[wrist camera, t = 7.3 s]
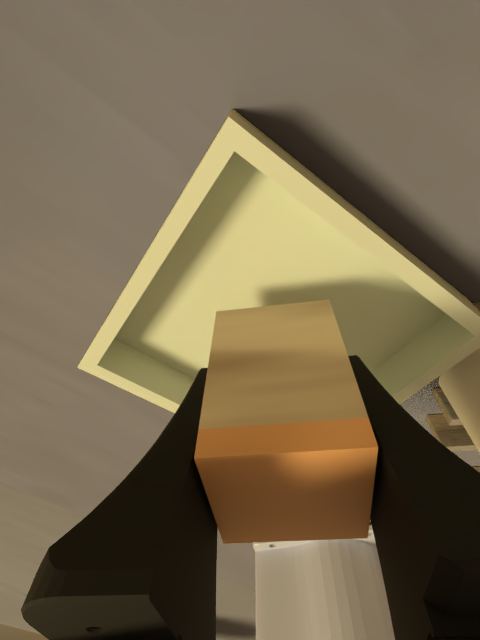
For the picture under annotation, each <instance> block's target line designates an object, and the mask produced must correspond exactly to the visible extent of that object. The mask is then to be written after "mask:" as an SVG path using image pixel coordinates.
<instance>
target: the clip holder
mask: <svg viewBox="0 0 480 640" xmlns="http://www.w3.org/2000/svg"><path fill="white" fill-rule="evenodd" d="M472 304H473V305H474V306H475V307H476V308H477V309H478V310H479V311H480V302H478V303H472ZM432 395H433V397H434V398H435V400H436V402H437V404H438V406H439V407H440V409H441V411H442V413H443V414H436V415H427V419H426V421H427V423H428V425H429V427H430V429H431V431H432V433H433V435H434V437H435V438H436V439H437V440H438V441H439V442H440V443H442V444H443V445H444V446H445V447H446V448H448V449H449V450H450V451H469V450H477V448H476V446H475V445H474V443H473V441H472V440H471V438H470V436H469V434H468V433H467V431H466V429H465V428H464V426H463V424H462V423H461V421H460V419H459V418H458V416H457V414H456V412H455V411H454V409H453V407H452V406H451V404H450V402H449V401H448V399H447V397H446V395H445V394H444V392H443V390H442V389H441V388H433V392H432ZM473 468H474V469H476V470H477V471H478V472H480V467H473Z"/></svg>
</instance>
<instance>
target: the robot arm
mask: <svg viewBox="0 0 480 640" xmlns="http://www.w3.org/2000/svg"><path fill="white" fill-rule="evenodd" d="M348 357H349V360H350V363H351V366H352V369H353V372H354V375H355V378H356V381H357V384H358V387H359V390H360V393H361V396H362V399H363V402H364V405H365V409H366V412H367V415H368V418H369V421H370V424H371V427H372V430H373V433H374V436H375V439H376V442H377V445H378V454H377V463H376V472H375V480H374V489H373V497H372V506H371V514H370V520H371V524H372V525H369V532H368V538H362V539H334V540H306V541H278V542H253V548H254V550H255V551H256V552H255V562H256V640H480V472H478V471H477V470H476V469H474V468H473V467H471V466H470V465H469V464H467V463H466V462H464V461H463V460H462V459H460V458H459V457H458V456H457V455H455V454H454V453H453V452H452V451H450V450H449V449H448V448H446V447H445V446H444V445H443V444H442V443H440V442H439V441H438V440H437V439H436V438H435V437H433V436H432V435H431V434H430V433H429V432H428V431H427V430H425V429H424V428H423V427H422V426H421V425H420V424H419V423H418V422H417V421H416V420H415V419H414V418H413V417H412V416H411V415H410V414H408V413H407V412H406V411H405V410H404V408H403V407H402V406H401V405H400V404H399V403H398V402H397V401H396V400H395V399H394V398H393V397H392V396H391V395H390V394H389V393H388V391H387V390H386V389H385V388H384V387H383V386H382V385H381V384H380V382H379V381H378V380H377V379H376V378H375V376H374V375H373V374H372V373H371V372H370V370H369V369H368V368H367V366H366V365H365V364H364V363H363V361H362V360H361V358H360V357H358V356H357V355H352V356H348ZM207 370H208V368H201V369H200V370H199V372H198V374H197V376H196V378H195V380H194V382H193V383H192V385H191V387H190V389H189V391H188V392H187V394H186V396H185V398H184V400H183V401H182V403H181V404H180V406H179V408H178V409H177V411H176V413H175V414H174V416H173V417H172V419H171V420H170V422H169V423H168V425H167V426H166V428H165V429H164V431H163V432H162V433H161V435H160V436H159V438H158V439H157V440H156V442H155V443H154V444H153V446H152V447H151V448H150V450H149V451H148V452H147V453H146V455H145V456H144V457H143V458H142V460H141V461H140V462H139V463H138V464H137V465H136V467H135V468H134V469H133V470H132V471H131V472H130V473H129V474H128V476H127V477H126V478H125V479H124V480H123V481H122V482H121V483H120V484H119V485H118V486H117V487H116V488H115V490H114V491H112V492H111V493H110V494H109V495H108V496H107V497H106V498H105V499H104V500H103V501H102V502H101V503H100V504H99V505H98V506H97V507H96V508H95V509H94V510H93V511H92V512H91V513H90V514H89V515H87V516H86V517H85V518H84V519H83V520H82V521H81V522H79V523H78V524H77V525H76V526H75V527H73V528H72V529H71V530H70V531H69V532H68V533H66V534H65V535H64V536H63V537H62V538H60V539H59V540H58V541H57V542H56V543H54V544H53V545H52V546H50V547H49V549H48V551H47V553H46V555H45V557H44V559H43V561H42V562H41V564H40V567H39V569H38V571H37V573H36V576H35V578H34V580H33V583H32V585H31V587H30V590H29V592H28V595H27V597H26V599H25V602H24V604H23V606H22V609H21V612H22V616H23V618H24V620H25V621H26V622H27V623H28V624H29V625H30V626H32V627H33V628H34V629H36V630H37V631H38V632H40V633H41V634H42V635H44V636H45V637H46V638H48V639H49V640H216V559H217V527H218V526H217V523H216V520H215V517H214V514H213V512H212V509H211V506H210V503H209V500H208V497H207V494H206V491H205V488H204V486H203V483H202V480H201V477H200V474H199V471H198V468H197V465H196V463H195V460H194V455H195V449H196V442H197V436H198V429H199V422H200V416H201V409H202V403H203V396H204V389H205V383H206V376H207Z"/></svg>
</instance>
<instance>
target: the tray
mask: <svg viewBox="0 0 480 640" xmlns="http://www.w3.org/2000/svg"><path fill="white" fill-rule="evenodd" d="M322 300H330V303H331V306H332V309H333V312H334V315H335V318H336V321H337V324H338V327H339V330H340V333H341V336H342V339H343V342H344V345H345V348H346V351H347V354H348V356H352V355H357V356H358V357H360V358H361V360H362V361H363V363H364V364H365V365H366V366H367V368H368V369H369V370H370V372H371V373H372V374H373V375H374V376H375V378H376V379H377V380H378V381H379V382H380V384H381V385H382V386H383V387H384V388H385V389H386V390H387V391H388V393H389V394H390V395H391V396H392V397H393V398H394V399H395V400H396V401H397V402H398V403H399V404H401V403H402V402H404V401H405V400H406V399H408V398H409V397H411V396H412V395H413V394H415V393H416V392H418V391H419V390H421V389H422V388H423V387H425V386H426V385H428V384H429V383H430V382H432V381H433V380H435V379H436V378H438V377H439V376H440V375H442V374H443V373H445V372H446V371H447V370H449V369H450V368H452V367H453V366H454V365H456V364H457V363H459V362H460V361H462V360H463V359H464V358H466V357H467V356H469V355H470V354H471V353H473V352H474V351H476V350H477V349H479V348H480V311H479V310H478V309H477V308H476V307H475V306H474V305H473V304H472V303H471V302H470V301H469V300H468V299H467V298H466V297H465V296H464V295H463V294H461V293H460V292H459V291H458V290H456V289H455V288H454V287H453V286H451V285H450V284H449V283H448V282H446V281H445V280H444V279H443V278H442V277H440V276H439V275H438V274H437V273H435V272H434V271H433V270H432V269H430V268H429V267H428V266H427V265H425V264H424V263H423V262H422V261H421V260H419V259H418V258H417V257H416V256H414V255H413V254H412V253H411V252H409V251H408V250H407V249H406V248H404V247H403V246H402V245H401V244H400V243H398V242H397V241H396V240H395V239H393V238H392V237H391V236H390V235H388V234H387V233H386V232H385V231H384V230H382V229H381V228H380V227H379V226H377V225H376V224H375V223H374V222H372V221H371V220H370V219H369V218H367V217H366V216H365V215H364V214H363V213H361V212H360V211H359V210H358V209H356V208H355V207H354V206H353V205H351V204H350V203H349V202H348V201H346V200H345V199H344V198H343V197H342V196H340V195H339V194H338V193H337V192H335V191H334V190H333V189H332V188H330V187H329V186H328V185H327V184H325V183H324V182H323V181H322V180H321V179H319V178H318V177H317V176H316V175H314V174H313V173H312V172H311V171H309V170H308V169H307V168H306V167H304V166H303V165H302V164H301V163H300V162H298V161H297V160H296V159H295V158H293V157H292V156H291V155H290V154H288V153H287V152H286V151H285V150H283V149H282V148H281V147H280V146H279V145H277V144H276V143H275V142H274V141H272V140H271V139H270V138H269V137H267V136H266V135H265V134H264V133H262V132H261V131H260V130H259V129H258V128H256V127H255V126H254V125H253V124H251V123H250V122H249V121H248V120H246V119H245V118H244V117H243V116H241V115H240V114H239V113H238V112H237V111H235V110H234V109H232V111H231V112H230V114H229V116H228V117H227V119H226V121H225V122H224V124H223V126H222V127H221V129H220V131H219V132H218V134H217V136H216V137H215V139H214V141H213V142H212V144H211V146H210V147H209V149H208V151H207V152H206V154H205V156H204V157H203V159H202V161H201V162H200V164H199V166H198V167H197V169H196V171H195V172H194V174H193V176H192V177H191V179H190V181H189V182H188V184H187V186H186V187H185V189H184V191H183V192H182V194H181V195H180V197H179V199H178V200H177V202H176V204H175V205H174V207H173V209H172V210H171V212H170V214H169V215H168V217H167V219H166V220H165V222H164V224H163V225H162V227H161V229H160V230H159V232H158V234H157V235H156V237H155V239H154V240H153V242H152V244H151V245H150V247H149V249H148V250H147V252H146V254H145V255H144V257H143V259H142V260H141V262H140V264H139V265H138V267H137V269H136V270H135V272H134V274H133V275H132V277H131V279H130V280H129V282H128V284H127V285H126V287H125V289H124V290H123V292H122V294H121V295H120V297H119V298H118V300H117V302H116V303H115V305H114V307H113V308H112V310H111V312H110V313H109V315H108V317H107V318H106V320H105V322H104V323H103V325H102V327H101V328H100V330H99V332H98V333H97V335H96V337H95V339H94V340H93V342H92V344H91V345H90V347H89V349H88V350H87V352H86V354H85V355H84V357H83V359H82V361H81V362H80V364H79V366H78V368H80V369H82V370H84V371H86V372H88V373H90V374H92V375H95V376H97V377H99V378H101V379H103V380H105V381H107V382H109V383H112V384H114V385H116V386H118V387H120V388H122V389H124V390H126V391H129V392H131V393H133V394H135V395H137V396H139V397H141V398H143V399H146V400H148V401H150V402H152V403H154V404H156V405H158V406H161V407H163V408H165V409H167V410H169V411H171V412H173V413H176V411H177V409H178V408H179V406H180V404H181V403H182V401H183V400H184V398H185V396H186V394H187V392H188V391H189V389H190V387H191V385H192V383H193V382H194V380H195V378H196V376H197V374H198V372H199V370H200V369H201V368H208V363H209V356H210V350H211V343H212V337H213V330H214V323H215V317H216V311H224V310H234V309H244V308H254V307H263V306H273V305H283V304H293V303H302V302H312V301H322Z"/></svg>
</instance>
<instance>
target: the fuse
mask: <svg viewBox="0 0 480 640" xmlns="http://www.w3.org/2000/svg"><path fill="white" fill-rule="evenodd" d="M438 384H439V385H440V387H441V389H442V390H443V392H444V394H445V395H446V397H447V399H448V401H449V402H450V404H451V406H452V407H453V409H454V411H455V412H456V414H457V416H458V418H459V419H460V421H461V423H462V424H463V426H464V428H465V429H466V431H467V433H468V434H469V436H470V438H471V440H472V441H473V443H474V445H475V446H476V448H477V450H478V451H479V453H480V348H479V349H477V350H476V351H474V352H473V353H471V354H470V355H469V356H467V357H466V358H464V359H463V360H462V361H460V362H459V363H457V364H456V365H454V366H453V367H452V368H450V369H449V370H447V371H446V372H445V373H443V374H442V375H440V378H439V382H438Z"/></svg>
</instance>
